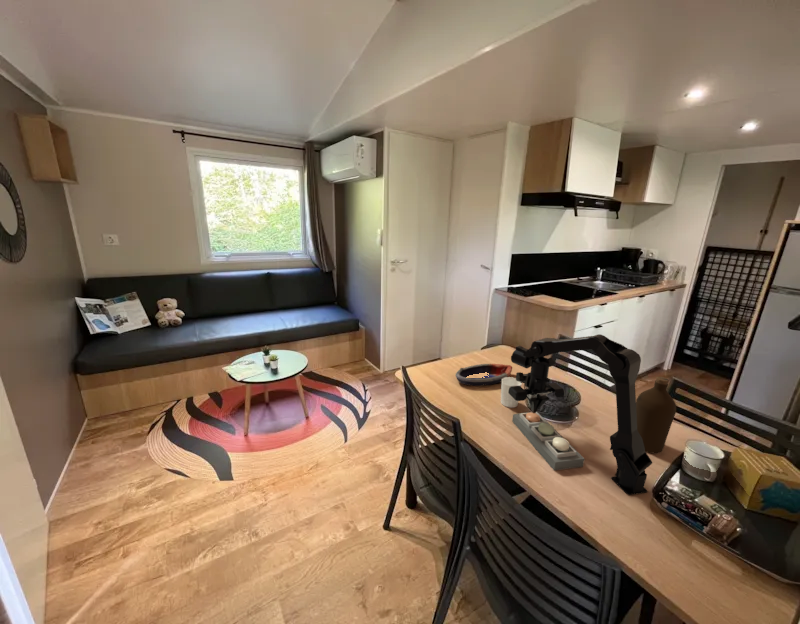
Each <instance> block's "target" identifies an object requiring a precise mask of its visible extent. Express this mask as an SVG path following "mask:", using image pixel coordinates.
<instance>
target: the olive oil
mask: <svg viewBox="0 0 800 624" xmlns="http://www.w3.org/2000/svg"><path fill="white" fill-rule="evenodd" d="M669 381H670V379H668V378H667V377H664V376H656V378H655V380H654V385H653V387H651V388H649V389H646V390H643V391H642V392H641V393H640V394H639V395H637V397H636V414H637V430H638V432H639V434H640V436H641V437H642V439H643V443H644V447H645V452H646V453H649V454H660V453H662V452H663V450H664V448H665V444H666V441H667V439H668V435H669V432H670V429H671V427H672V424H673V421H674V418H675V417H676V413H677V405H676V402H675V400H674V399H673V398H672V396H671V395H670V394H669V392H668V391H667V389H668V386H669V384H668V383H669Z"/></svg>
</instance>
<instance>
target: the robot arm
mask: <svg viewBox="0 0 800 624" xmlns="http://www.w3.org/2000/svg"><path fill="white" fill-rule="evenodd" d="M588 350H591V351H593V352H594V353H595V354H596V356H597V357H598V358H599V359H600V361H602V362H603V363H604V364H606V365H607V367H608V370H609V374H610V376H611V378H612V379H613V381H614V383H615V398H616V399H615V400H616V401H615V402H616V416H617V418H616V419H617V421H616V422H617V431H615V432H614V433H612V434H611V435H610V436H609V442H610V448H609V450H610V451H612V455H613V457H614V458H615V462H616V472H615V476H611V478H610V479H611V480H612V482H614V483H615V484H616V485H617V486H618V487H619V488H620V489H621V490H622V491H623V493H624V492H625V493H626V495H628V496H633V495H639V494H645V493H648V489H646V487H645V484H646V480H647V477H648V474H647V473H646V470H647V469H648V468H649V467H650V466H651V465H652V464H653V461H652V459H651V458H650V456H649V455H648V452H645V447H644V443H643V439H642V437H641V436H640V434H639V432H638V430H637V414H636V400H637V395H636V380H637V377H638V375H639V373H640V370H641V369H640V368H641V363H642V358H641V356H640V355H641V354H639V353H638V352H637V351H635V350H634V349H632V348H631V349H630V348H628V347H626V346H624V344H621V343H619V342H617V341H614V340H612V339H609V337H606V335H603V334H600V333H599V334H595V335H590V336H589V335H588V336H580V337H571V338H564V339H558V338H555V337H544V338H541V339H538V340H535V341H533V342H532V343H531V345H530V347H529V349H528V348H525V347H523V346H521V345H518V346H516V347H515V349H514V350H513V352H512V354H511V356H510V361H511V362H512V363H513V364H515V365H517V366H519V367H522V368H524V369H529V368H530V371H529V372H528V373H523V372H521V371H520V372H516V374H515V378H516V380H517V381H519V382H520V383H522V384H524V386H525V387H527V388H523V387H522V386H511V387H510V388H509V392H508V393H509V394H510V395H511V396H512V397H513V398H514V399H515V400H516V401H518V402H519V401H520V402H521V401H522V402H523V401H526V400H528V402H529V405H530V406H529V407H530V410H531V411H530V412H532V413H536V412H538V410H539V409H540V408H541V407H542V406H543V405H544V404H545V403H546V402H547V401H549V400H550V398H549V396H548V394H552V393H553V394H554V396H555V397H556V398H564V397H565V395H566V392H565V389H564V388H563V387H562V386H560V384H558V383H557V382H552V383H551V382H550V381H551V380H550V378H549V377H548V376H549V370H550V367H554V366H556V365H557V363H556V361H555V360H554V359H553V357H549V358H547V357H548V356H550V355H554V354H557V353H566V352H575V351H588ZM625 493H624V494H625Z"/></svg>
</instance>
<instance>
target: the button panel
mask: <svg viewBox="0 0 800 624" xmlns="http://www.w3.org/2000/svg"><path fill="white" fill-rule="evenodd" d="M530 412H531V411H530ZM530 412H521V413H520V412H519V413H513V414H512V418H511V419H512V420H511V421H512V423H513V424H514V425H515V427H516V428H517V429H518V430H519V431H520V432H521V433H522V435H523V436H524V437H525V438H526V440H528V441H529V443H530V444H531V445H532V447H533V448H534V449H535V450H536V451H537V453H538V454H539V455H540V456H541V458H543V460H545V462H546V464H548V465H549V467H550V468H551V469H552V471H562V470H567V469H577V468H583V467H584V464H585V458H584V456H583V455H581V453H580V452H578V450H576V448H575V447H574V446H573V445H571V444H570V445H569V450H568V451H559V450H557V449H555V448H554V447H553V445H552V443H553V439H554V438H555V437H560V438H564V437H563V436H562V435H561V434H560V433H559V432H558V430H556V429H555V428H554V433H553V435H544V434H542V433H540V432H539V430H538V428H539V424H540V423H548V424H550V422H548V421H547V420H546V419H545V418H544V417H543V416H542V415H541V414H540V413H539V412H538V411H537V412H536V414H538V415H539V416H540V422H534V423H530V422H529V421H528V420H527V419H526V414H527V413H530Z"/></svg>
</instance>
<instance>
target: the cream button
mask: <svg viewBox="0 0 800 624" xmlns="http://www.w3.org/2000/svg"><path fill="white" fill-rule="evenodd" d="M552 445H553V447H554V448H555V449H557V450H559V451H568V450H569V445H571V443H570V442H569V441H568V440H567V439H566V438H564V437H563V438H560V437H555V438H554V439H553V443H552Z"/></svg>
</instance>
